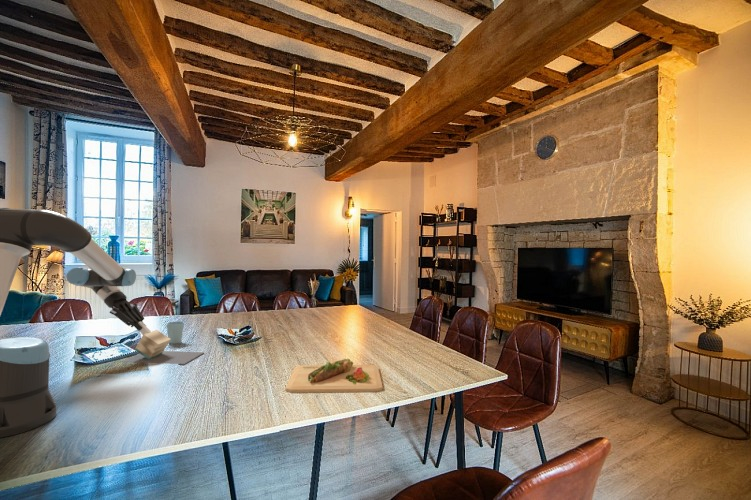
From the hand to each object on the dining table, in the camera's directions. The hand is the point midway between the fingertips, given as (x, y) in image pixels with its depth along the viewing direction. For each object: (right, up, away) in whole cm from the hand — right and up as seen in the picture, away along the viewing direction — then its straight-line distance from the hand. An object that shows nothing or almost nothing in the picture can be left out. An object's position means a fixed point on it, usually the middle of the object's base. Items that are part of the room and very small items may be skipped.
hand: (147, 334), depth 144 cm
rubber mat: (+8, -11, 0) cm, 13 cm away
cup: (-1, -11, +22) cm, 24 cm away
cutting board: (+88, -14, -18) cm, 90 cm away
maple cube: (0, -8, 0) cm, 8 cm away
